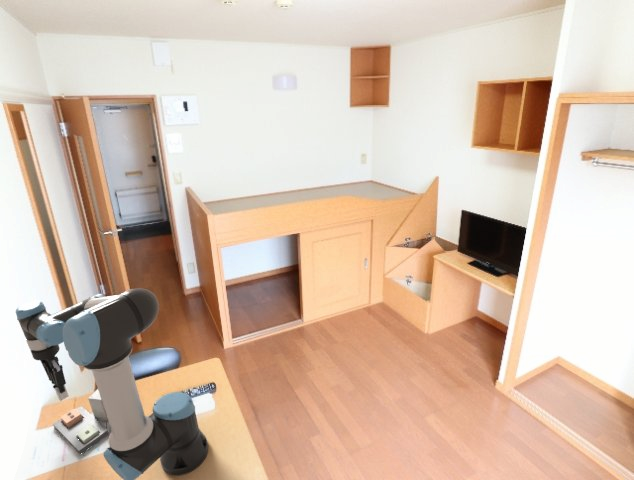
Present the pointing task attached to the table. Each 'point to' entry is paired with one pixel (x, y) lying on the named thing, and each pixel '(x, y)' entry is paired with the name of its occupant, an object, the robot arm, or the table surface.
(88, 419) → the board
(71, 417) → the peach rectangular block
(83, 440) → the pale green button
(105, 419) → the small box
